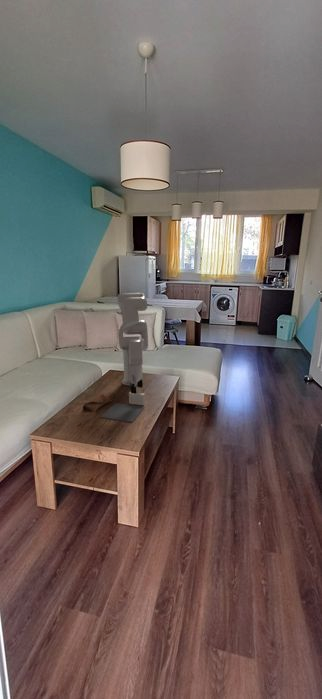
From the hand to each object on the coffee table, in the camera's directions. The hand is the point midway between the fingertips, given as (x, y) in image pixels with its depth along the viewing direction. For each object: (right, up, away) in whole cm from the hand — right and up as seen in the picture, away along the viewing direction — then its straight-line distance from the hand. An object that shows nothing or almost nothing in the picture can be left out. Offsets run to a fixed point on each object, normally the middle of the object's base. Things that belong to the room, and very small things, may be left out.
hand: (136, 390), depth 187 cm
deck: (0, -8, +3) cm, 9 cm away
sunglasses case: (-22, -9, +2) cm, 24 cm away
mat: (-7, -11, -8) cm, 15 cm away
